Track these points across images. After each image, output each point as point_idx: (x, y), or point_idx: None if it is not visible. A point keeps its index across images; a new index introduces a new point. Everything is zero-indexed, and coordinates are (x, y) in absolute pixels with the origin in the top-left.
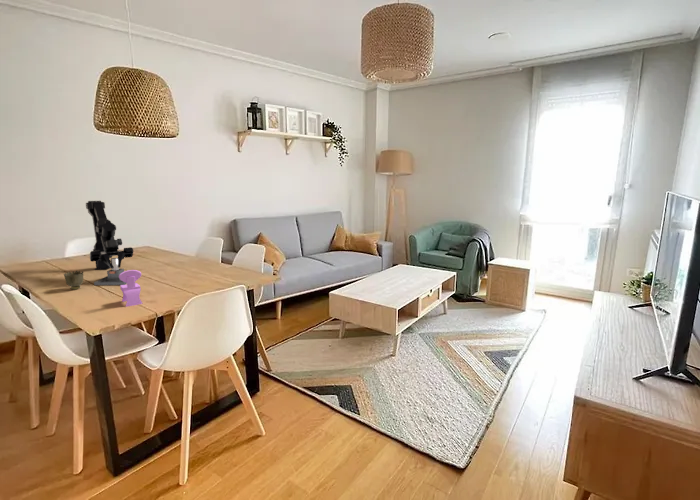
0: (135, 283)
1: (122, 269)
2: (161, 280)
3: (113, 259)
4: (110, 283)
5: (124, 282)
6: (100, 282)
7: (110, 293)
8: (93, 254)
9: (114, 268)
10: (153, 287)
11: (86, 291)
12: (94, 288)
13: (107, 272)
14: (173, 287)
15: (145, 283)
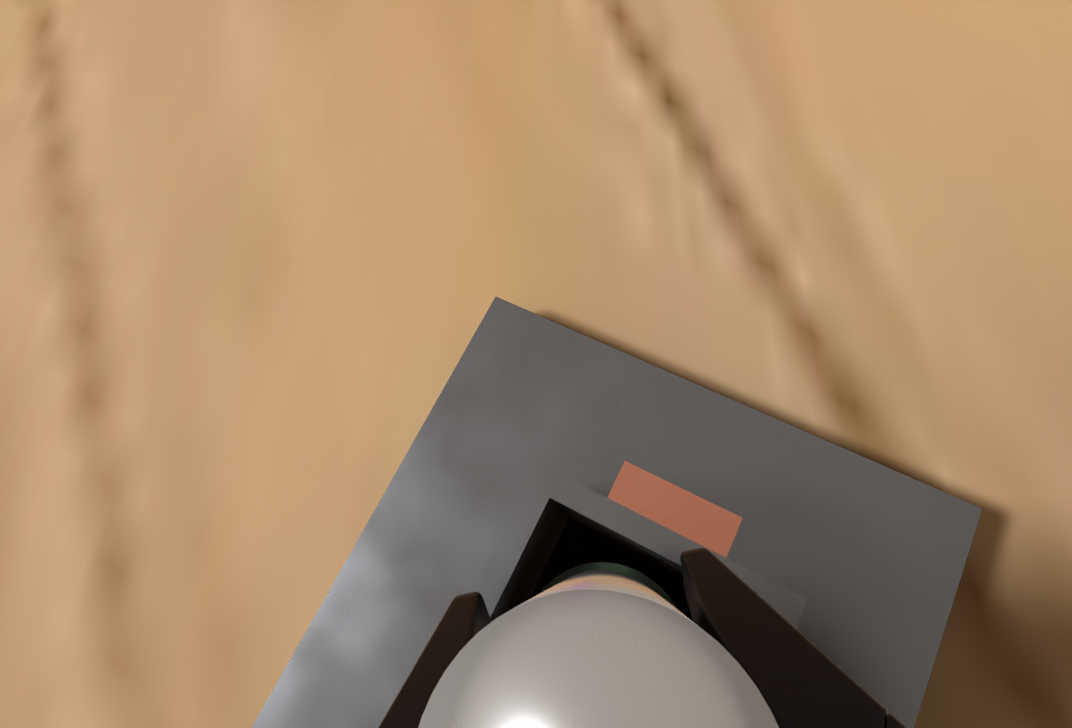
0: None
1: None
2: (40, 364)
3: (637, 597)
4: (687, 386)
5: (487, 319)
6: (856, 455)
7: (654, 22)
8: None
9: (622, 577)
10: (217, 90)
11: (971, 196)
12: (895, 309)
13: (789, 595)
14: (61, 28)
15: (247, 294)
